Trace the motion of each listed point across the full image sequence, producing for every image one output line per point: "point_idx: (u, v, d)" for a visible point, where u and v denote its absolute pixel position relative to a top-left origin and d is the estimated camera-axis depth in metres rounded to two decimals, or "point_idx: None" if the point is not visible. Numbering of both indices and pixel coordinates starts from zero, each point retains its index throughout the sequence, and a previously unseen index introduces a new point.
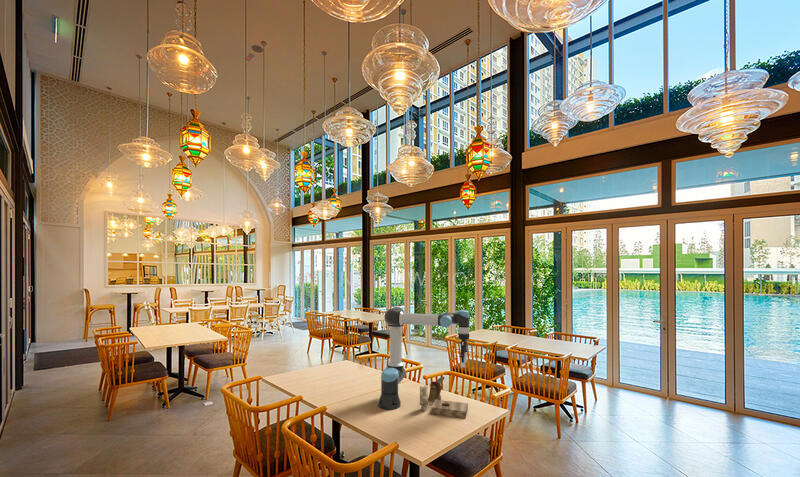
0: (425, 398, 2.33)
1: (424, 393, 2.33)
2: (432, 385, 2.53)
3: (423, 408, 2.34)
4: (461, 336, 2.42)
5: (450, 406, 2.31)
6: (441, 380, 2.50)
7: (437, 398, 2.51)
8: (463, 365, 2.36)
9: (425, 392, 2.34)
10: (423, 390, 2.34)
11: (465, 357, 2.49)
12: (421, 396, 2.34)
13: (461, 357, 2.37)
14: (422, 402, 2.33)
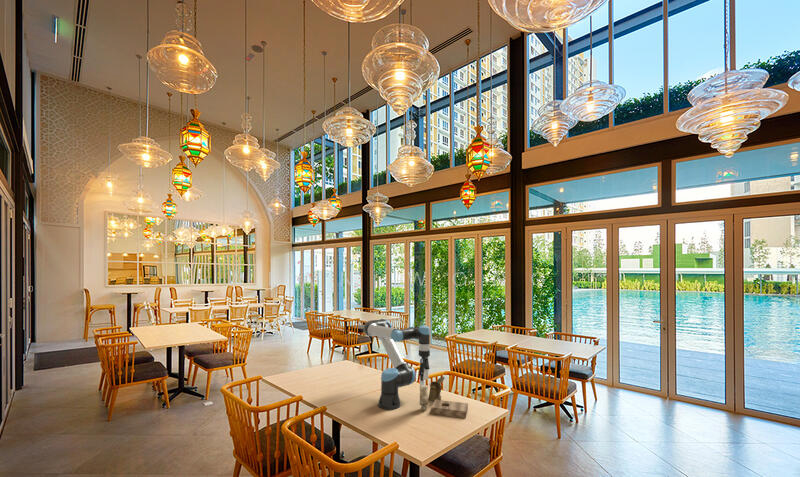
0: (425, 398, 2.33)
1: (424, 393, 2.33)
2: (432, 385, 2.53)
3: (423, 408, 2.34)
4: (421, 353, 2.35)
5: (450, 406, 2.31)
6: (441, 380, 2.50)
7: (437, 398, 2.51)
8: (422, 383, 2.29)
9: (425, 392, 2.34)
10: (423, 390, 2.34)
11: (426, 374, 2.43)
12: (421, 396, 2.34)
13: None
14: (422, 402, 2.33)
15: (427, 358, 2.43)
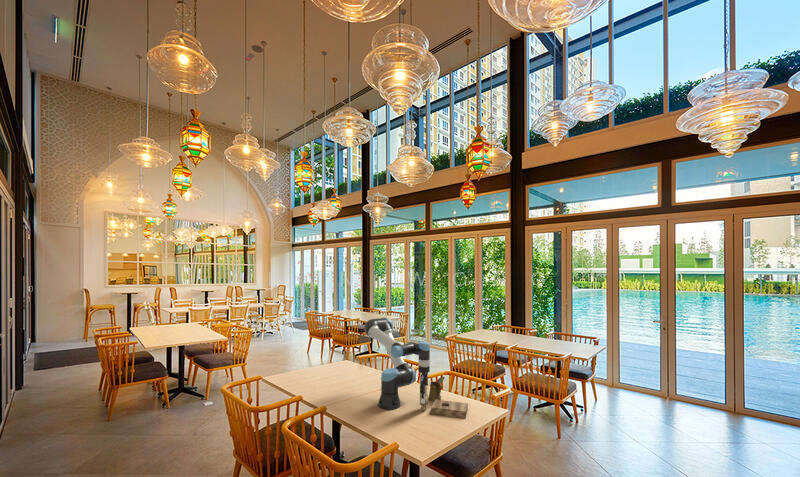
0: (425, 398, 2.33)
1: None
2: (432, 385, 2.53)
3: (423, 408, 2.34)
4: (421, 369, 2.34)
5: (450, 406, 2.31)
6: (441, 380, 2.50)
7: (437, 398, 2.51)
8: (423, 401, 2.32)
9: (425, 392, 2.34)
10: None
11: None
12: None
13: None
14: None
15: (427, 375, 2.41)
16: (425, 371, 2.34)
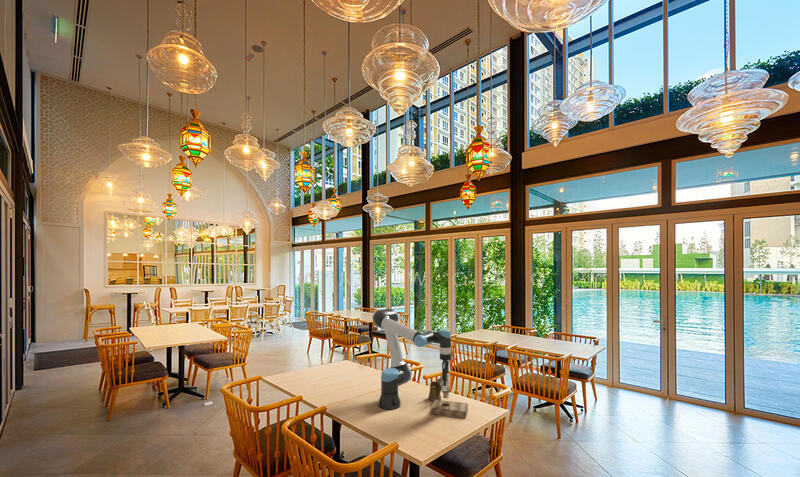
0: (447, 386, 2.32)
1: None
2: (432, 385, 2.53)
3: (445, 396, 2.32)
4: (442, 357, 2.33)
5: (450, 406, 2.31)
6: None
7: (437, 398, 2.51)
8: (445, 388, 2.31)
9: (447, 379, 2.32)
10: None
11: None
12: None
13: None
14: None
15: None
16: (447, 358, 2.32)
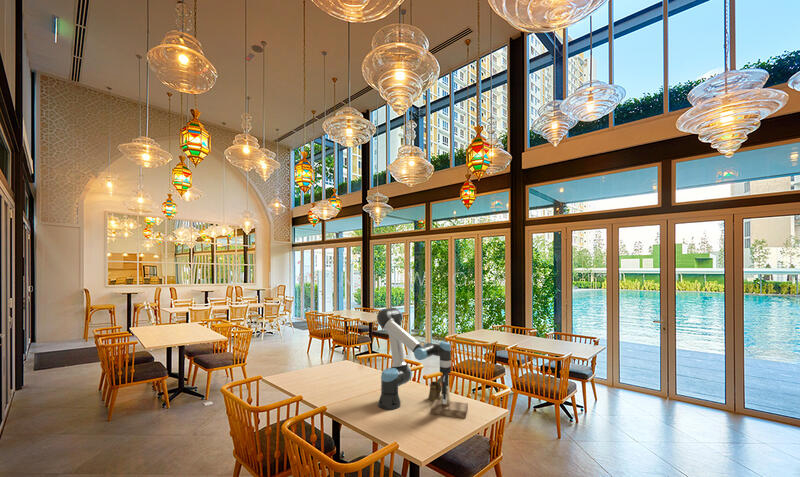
0: (447, 399, 2.31)
1: None
2: (432, 385, 2.53)
3: None
4: (442, 370, 2.32)
5: (450, 406, 2.31)
6: (441, 380, 2.50)
7: (437, 398, 2.51)
8: (445, 401, 2.30)
9: (447, 393, 2.32)
10: None
11: None
12: None
13: (443, 393, 2.31)
14: None
15: None
16: (447, 372, 2.32)
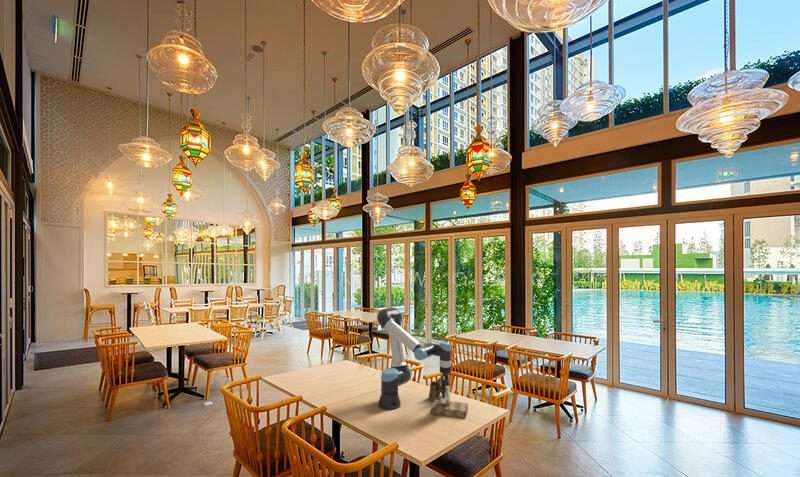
0: (447, 399, 2.31)
1: (446, 394, 2.31)
2: (432, 385, 2.53)
3: None
4: (442, 370, 2.32)
5: (450, 406, 2.31)
6: (441, 380, 2.50)
7: (437, 398, 2.51)
8: (444, 400, 2.27)
9: (447, 393, 2.32)
10: None
11: None
12: None
13: (442, 392, 2.28)
14: (444, 403, 2.31)
15: (448, 374, 2.40)
16: (447, 372, 2.32)
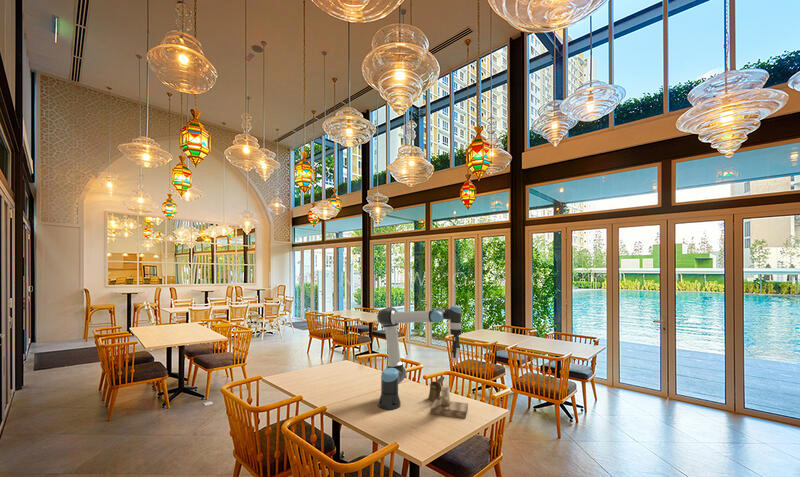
0: (447, 399, 2.31)
1: (446, 394, 2.31)
2: (432, 385, 2.53)
3: None
4: (453, 332, 2.42)
5: (450, 406, 2.31)
6: (441, 380, 2.50)
7: (437, 398, 2.51)
8: (455, 360, 2.36)
9: (447, 393, 2.32)
10: (445, 391, 2.32)
11: (457, 353, 2.49)
12: (443, 397, 2.32)
13: (453, 352, 2.37)
14: (444, 403, 2.31)
15: (458, 337, 2.50)
16: (457, 333, 2.41)
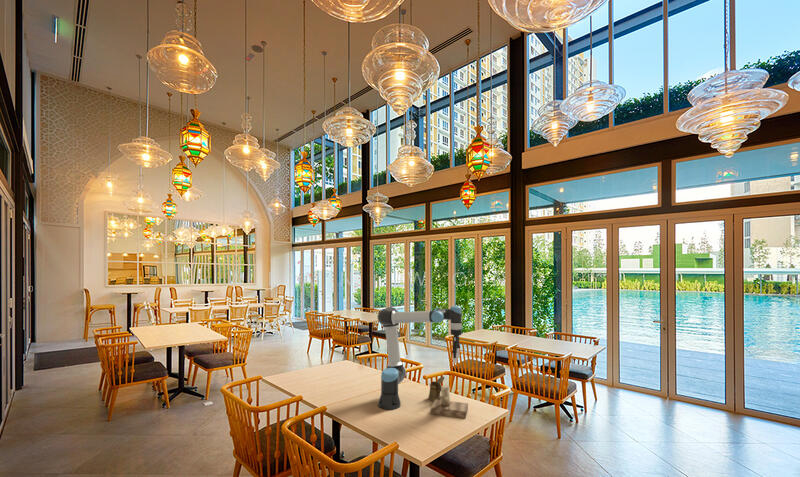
0: (447, 399, 2.31)
1: (446, 394, 2.31)
2: (432, 385, 2.53)
3: None
4: (453, 332, 2.42)
5: (450, 406, 2.31)
6: (441, 380, 2.50)
7: (437, 398, 2.51)
8: (455, 360, 2.37)
9: (447, 393, 2.32)
10: (445, 391, 2.32)
11: (458, 353, 2.50)
12: (443, 397, 2.32)
13: None
14: (444, 403, 2.31)
15: (458, 337, 2.50)
16: (458, 333, 2.41)
